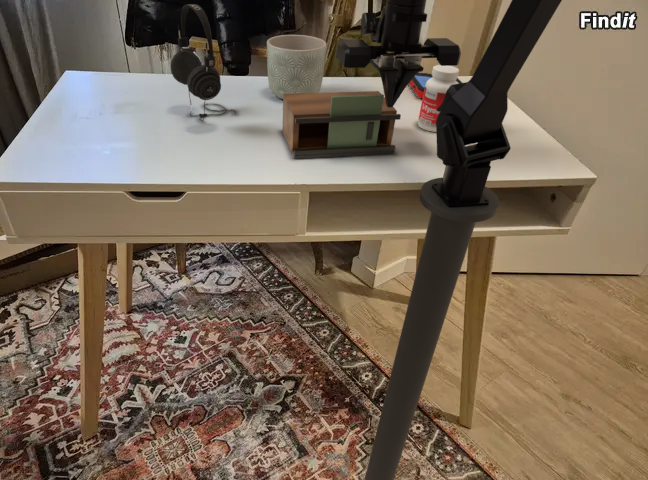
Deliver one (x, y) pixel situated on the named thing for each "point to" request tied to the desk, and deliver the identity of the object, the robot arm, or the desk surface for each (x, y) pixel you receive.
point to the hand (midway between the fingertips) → (389, 106)
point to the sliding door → (354, 130)
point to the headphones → (196, 63)
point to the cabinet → (313, 124)
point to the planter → (295, 64)
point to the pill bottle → (436, 95)
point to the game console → (422, 83)
